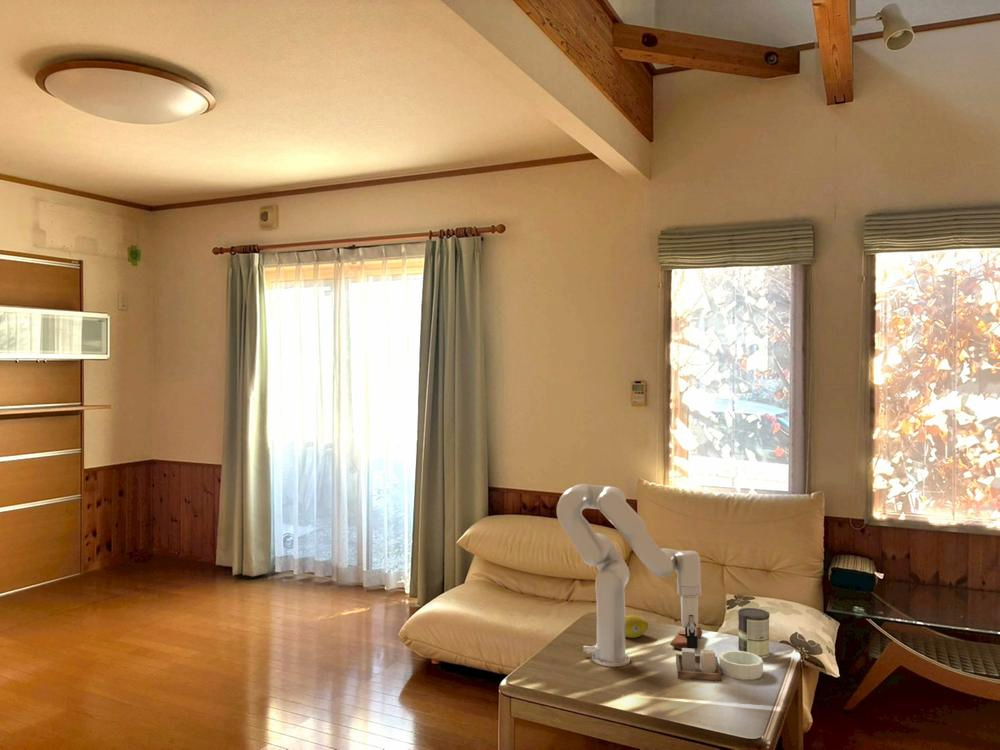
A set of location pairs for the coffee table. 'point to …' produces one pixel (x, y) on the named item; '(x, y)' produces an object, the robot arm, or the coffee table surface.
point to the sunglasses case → (684, 639)
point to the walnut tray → (698, 671)
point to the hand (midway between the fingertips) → (691, 643)
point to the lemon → (635, 626)
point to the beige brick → (707, 660)
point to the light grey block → (688, 659)
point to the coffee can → (754, 631)
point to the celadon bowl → (741, 665)
